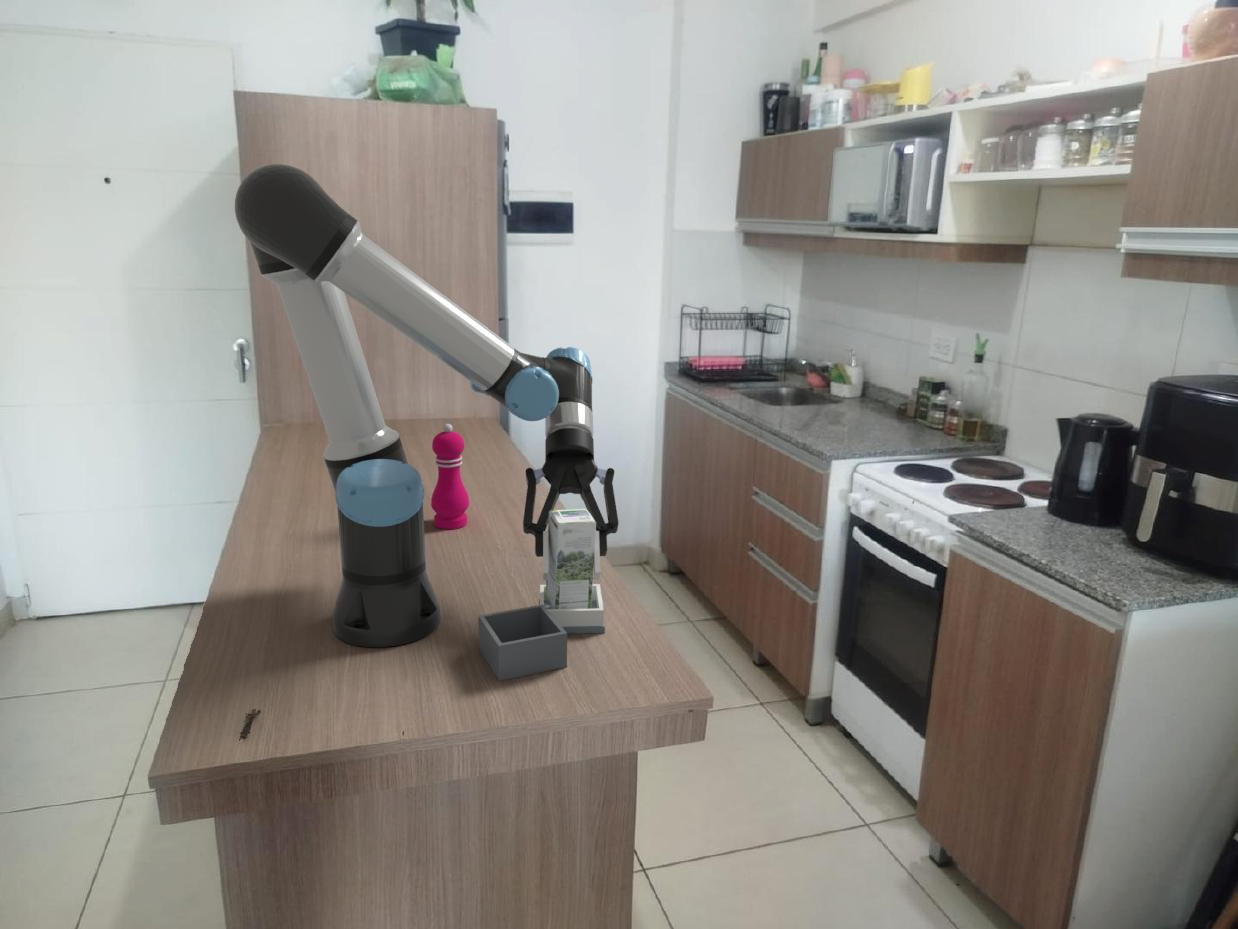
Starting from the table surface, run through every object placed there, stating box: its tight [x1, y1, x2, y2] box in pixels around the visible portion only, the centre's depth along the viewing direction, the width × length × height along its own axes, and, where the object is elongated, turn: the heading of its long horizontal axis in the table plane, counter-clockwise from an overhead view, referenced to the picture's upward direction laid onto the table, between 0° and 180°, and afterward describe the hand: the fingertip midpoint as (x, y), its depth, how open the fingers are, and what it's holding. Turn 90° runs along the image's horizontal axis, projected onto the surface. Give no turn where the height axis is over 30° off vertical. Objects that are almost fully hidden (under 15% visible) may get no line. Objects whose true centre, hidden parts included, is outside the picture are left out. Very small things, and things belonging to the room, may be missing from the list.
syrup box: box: [545, 508, 596, 609], centre depth 127 cm, size 6×6×14 cm
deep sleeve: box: [478, 604, 568, 682], centre depth 117 cm, size 9×9×5 cm
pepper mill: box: [430, 423, 470, 530], centre depth 164 cm, size 7×7×20 cm
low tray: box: [538, 583, 606, 634], centre depth 129 cm, size 10×10×4 cm
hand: (571, 576), depth 124 cm, fingers closed on syrup box, 7 cm apart
